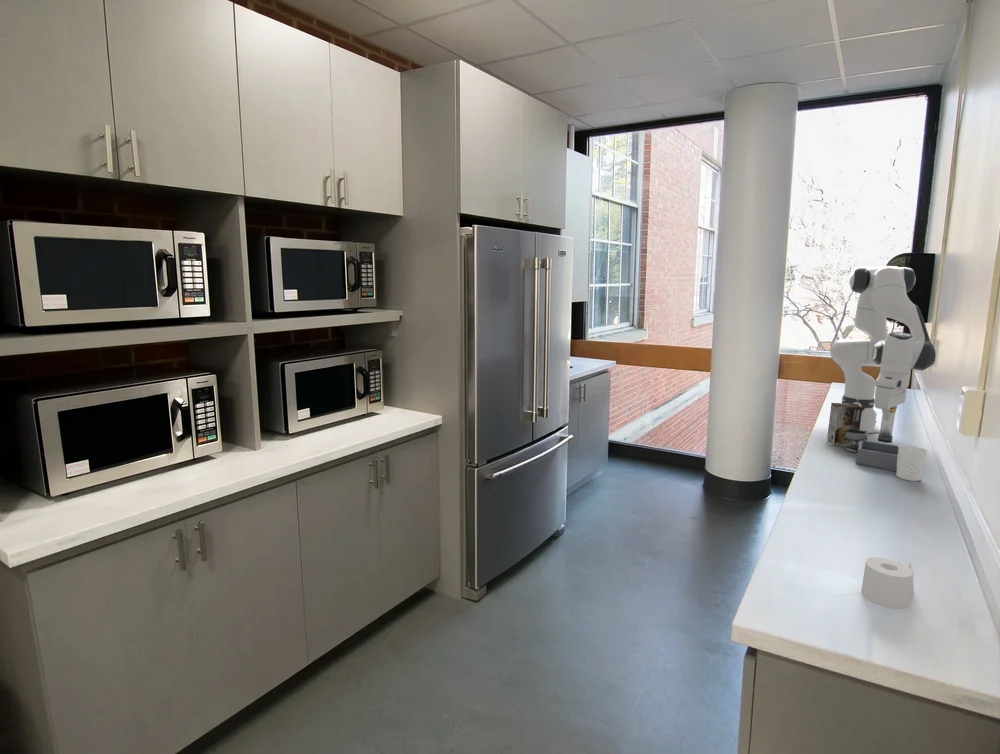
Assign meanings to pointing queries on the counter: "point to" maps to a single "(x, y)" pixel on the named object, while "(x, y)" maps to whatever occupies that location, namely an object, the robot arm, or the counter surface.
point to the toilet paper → (888, 582)
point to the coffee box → (843, 422)
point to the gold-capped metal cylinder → (887, 428)
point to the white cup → (910, 462)
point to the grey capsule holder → (855, 439)
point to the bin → (877, 455)
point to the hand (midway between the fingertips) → (888, 418)
